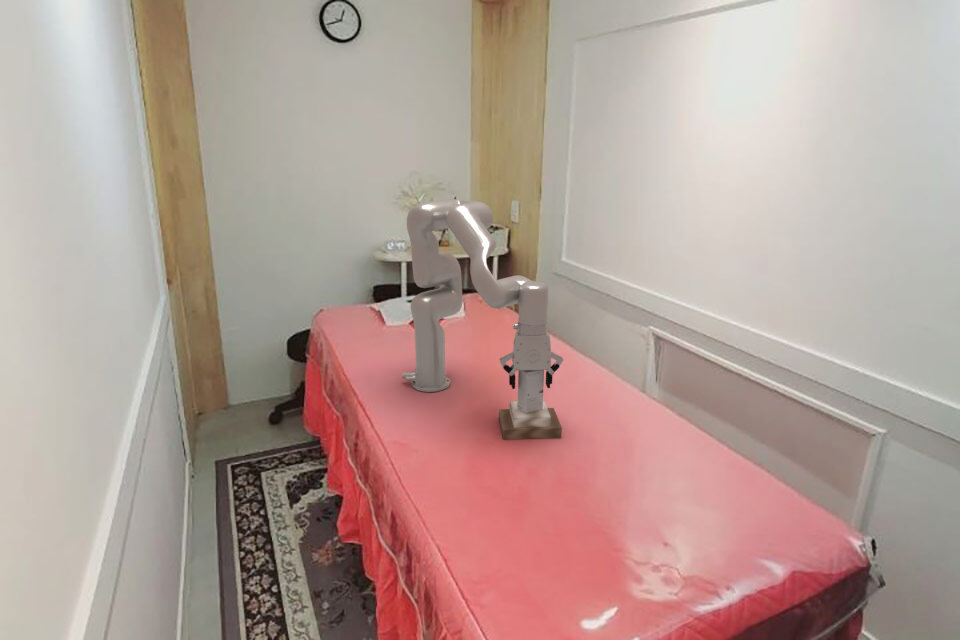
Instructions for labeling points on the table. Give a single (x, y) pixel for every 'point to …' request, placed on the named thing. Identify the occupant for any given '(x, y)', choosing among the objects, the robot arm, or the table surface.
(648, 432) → the table surface
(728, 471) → the table surface
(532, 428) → the block stack
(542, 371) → the skincare box
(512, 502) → the table surface
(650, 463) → the table surface
